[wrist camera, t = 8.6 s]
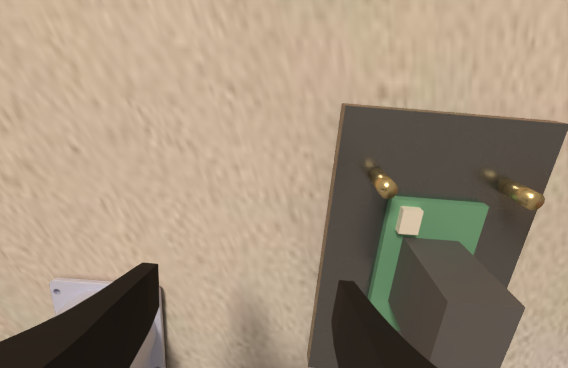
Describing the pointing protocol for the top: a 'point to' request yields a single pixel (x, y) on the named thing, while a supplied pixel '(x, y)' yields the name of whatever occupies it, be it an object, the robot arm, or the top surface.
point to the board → (442, 284)
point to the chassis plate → (427, 190)
